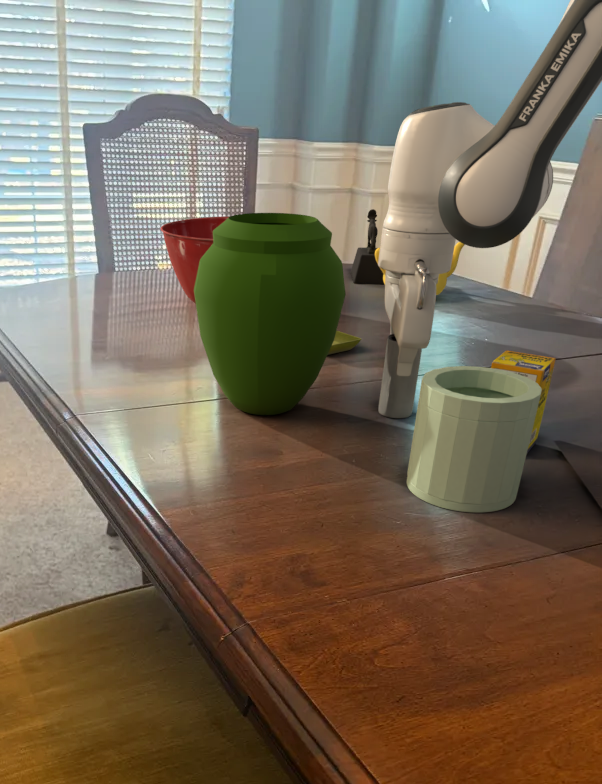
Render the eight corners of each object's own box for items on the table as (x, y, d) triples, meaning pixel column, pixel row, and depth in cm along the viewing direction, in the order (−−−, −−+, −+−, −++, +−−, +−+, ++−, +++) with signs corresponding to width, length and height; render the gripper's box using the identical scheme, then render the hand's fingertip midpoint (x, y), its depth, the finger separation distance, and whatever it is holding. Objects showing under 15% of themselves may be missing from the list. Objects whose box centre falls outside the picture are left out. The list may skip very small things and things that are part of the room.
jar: (503, 469, 89) (526, 368, 83) (527, 516, 79) (555, 405, 73) (401, 463, 90) (416, 363, 85) (412, 509, 81) (430, 399, 75)
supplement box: (536, 443, 96) (557, 357, 91) (524, 459, 92) (545, 369, 86) (488, 432, 99) (506, 348, 94) (474, 447, 95) (491, 360, 89)
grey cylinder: (414, 410, 106) (426, 335, 101) (408, 420, 103) (419, 344, 97) (382, 405, 108) (391, 331, 103) (374, 415, 104) (384, 339, 99)
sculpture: (382, 273, 189) (390, 207, 182) (386, 284, 178) (394, 214, 170) (350, 272, 190) (357, 206, 183) (351, 283, 179) (358, 213, 171)
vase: (362, 407, 107) (384, 219, 95) (270, 444, 95) (282, 235, 83) (257, 375, 119) (265, 205, 107) (164, 405, 107) (161, 217, 95)
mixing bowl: (249, 331, 142) (253, 242, 134) (133, 308, 157) (130, 227, 149) (324, 303, 161) (331, 224, 154) (214, 285, 176) (216, 212, 168)
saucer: (323, 359, 127) (324, 346, 126) (289, 346, 133) (290, 334, 132) (361, 350, 131) (363, 338, 130) (327, 339, 137) (328, 327, 136)
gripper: (455, 271, 86) (434, 390, 93) (430, 241, 103) (414, 343, 110) (398, 268, 86) (381, 387, 93) (383, 239, 104) (369, 341, 111)
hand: (399, 363), depth 102 cm, fingers open, 8 cm apart
